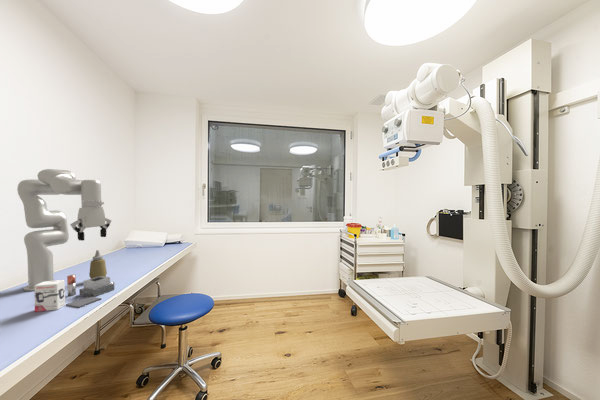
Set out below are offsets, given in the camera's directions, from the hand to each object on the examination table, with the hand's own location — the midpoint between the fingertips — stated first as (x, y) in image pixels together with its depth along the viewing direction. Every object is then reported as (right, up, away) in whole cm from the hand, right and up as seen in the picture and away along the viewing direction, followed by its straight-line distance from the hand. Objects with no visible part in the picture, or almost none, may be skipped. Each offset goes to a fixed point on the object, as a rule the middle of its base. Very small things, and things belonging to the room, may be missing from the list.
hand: (92, 238), depth 117 cm
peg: (-12, -29, +2) cm, 32 cm away
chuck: (-1, -29, +6) cm, 30 cm away
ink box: (-8, -30, -13) cm, 33 cm away
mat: (+2, -29, -7) cm, 30 cm away
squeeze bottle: (-17, -29, +23) cm, 41 cm away
